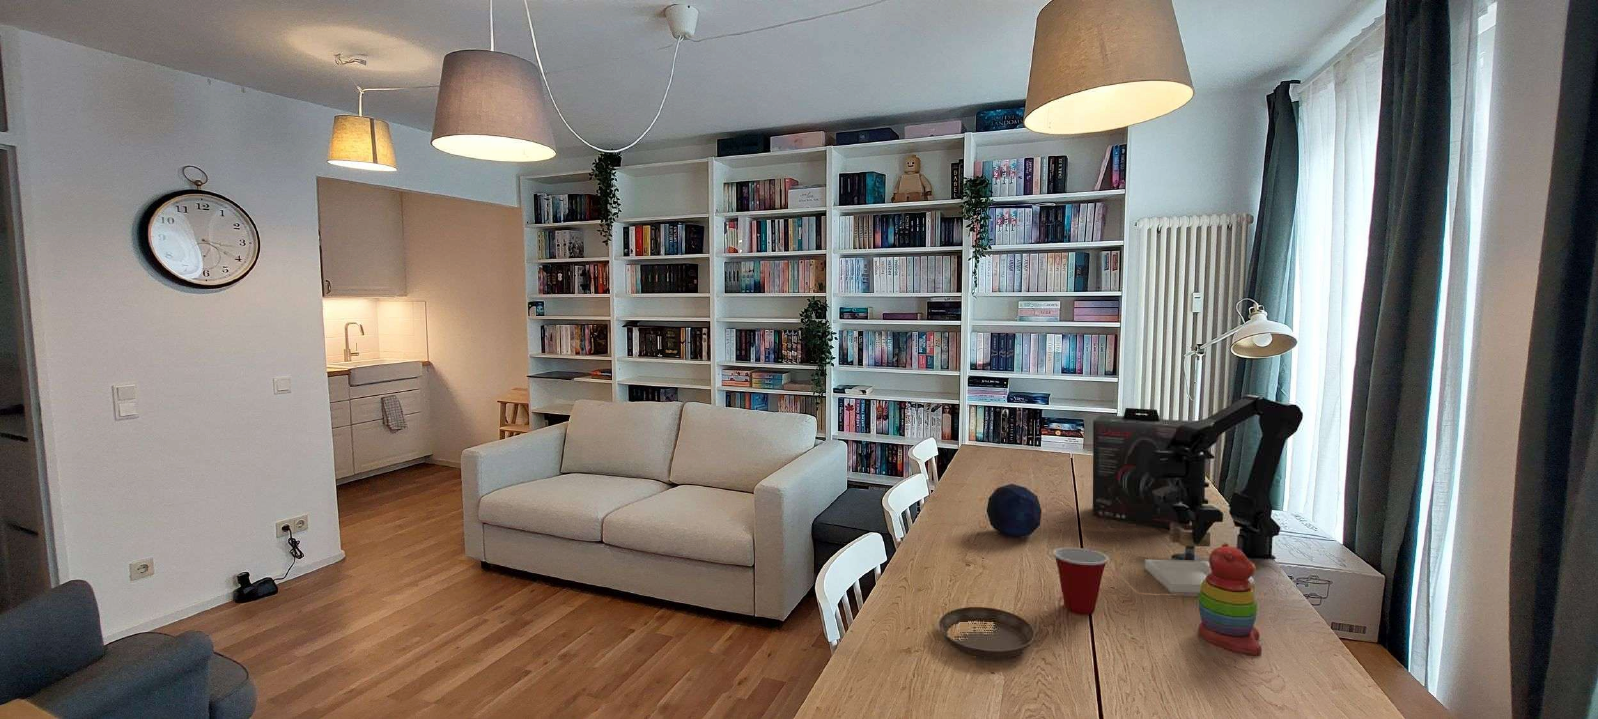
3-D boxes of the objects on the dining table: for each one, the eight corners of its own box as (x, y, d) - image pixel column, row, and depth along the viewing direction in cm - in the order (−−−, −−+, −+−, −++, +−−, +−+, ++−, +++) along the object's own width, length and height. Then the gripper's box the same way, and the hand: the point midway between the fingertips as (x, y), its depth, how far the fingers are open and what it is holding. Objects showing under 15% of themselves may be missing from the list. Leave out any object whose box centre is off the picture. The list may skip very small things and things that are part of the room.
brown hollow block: (1196, 537, 166) (1197, 523, 166) (1209, 546, 160) (1210, 532, 159) (1165, 536, 167) (1165, 523, 167) (1176, 545, 161) (1177, 531, 160)
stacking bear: (1262, 658, 119) (1266, 562, 117) (1196, 643, 124) (1199, 551, 123) (1258, 632, 128) (1262, 543, 127) (1197, 620, 133) (1200, 534, 132)
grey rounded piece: (1198, 555, 167) (1199, 536, 167) (1215, 567, 159) (1215, 547, 159) (1165, 554, 168) (1165, 535, 168) (1180, 566, 160) (1180, 547, 160)
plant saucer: (931, 619, 136) (931, 605, 136) (1018, 619, 135) (1018, 604, 135) (948, 667, 118) (948, 650, 118) (1048, 666, 118) (1048, 650, 117)
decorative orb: (1058, 515, 184) (1025, 469, 188) (1046, 530, 171) (1011, 481, 175) (1016, 538, 191) (985, 493, 195) (1002, 555, 178) (969, 506, 182)
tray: (1206, 570, 158) (1206, 560, 157) (1239, 596, 144) (1239, 585, 144) (1144, 569, 159) (1145, 559, 159) (1171, 594, 145) (1171, 583, 145)
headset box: (1089, 516, 199) (1092, 407, 196) (1099, 506, 209) (1101, 402, 206) (1184, 532, 184) (1187, 414, 181) (1189, 520, 194) (1192, 408, 191)
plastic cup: (1104, 600, 143) (1105, 546, 142) (1110, 623, 133) (1111, 565, 132) (1051, 594, 146) (1051, 541, 145) (1052, 616, 136) (1053, 559, 135)
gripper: (1141, 467, 172) (1140, 525, 173) (1174, 486, 153) (1173, 551, 155) (1186, 467, 171) (1184, 526, 172) (1225, 487, 152) (1223, 552, 154)
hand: (1189, 538), depth 163 cm, fingers closed on brown hollow block, 6 cm apart
